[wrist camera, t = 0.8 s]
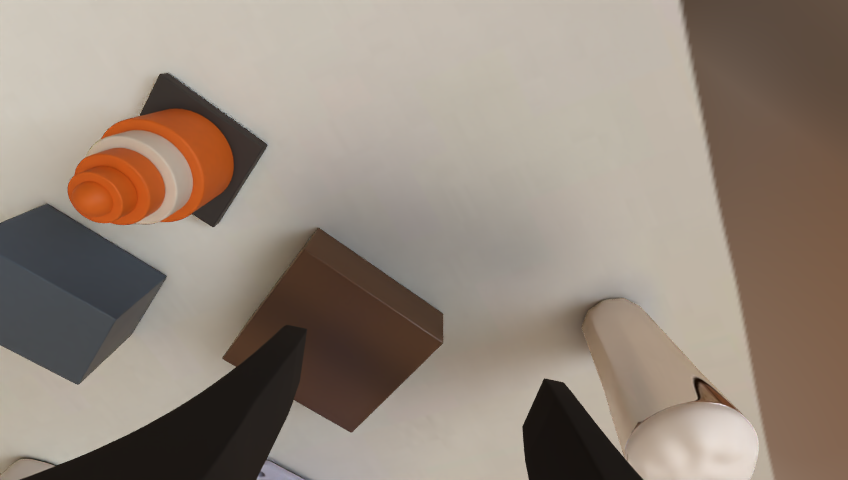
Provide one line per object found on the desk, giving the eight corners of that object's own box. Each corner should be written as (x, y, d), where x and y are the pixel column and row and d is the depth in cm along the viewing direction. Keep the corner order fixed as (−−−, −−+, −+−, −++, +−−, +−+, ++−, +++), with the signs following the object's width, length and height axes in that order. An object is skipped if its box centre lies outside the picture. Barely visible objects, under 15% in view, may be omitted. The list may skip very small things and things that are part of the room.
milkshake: (552, 292, 23) (626, 463, 13) (659, 281, 22) (812, 450, 13) (554, 361, 24) (621, 552, 15) (653, 352, 24) (783, 544, 15)
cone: (218, 223, 22) (125, 299, 15) (123, 161, 20) (-20, 215, 14) (268, 144, 20) (186, 193, 13) (167, 72, 19) (26, 88, 12)
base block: (359, 399, 26) (351, 433, 24) (242, 329, 24) (221, 358, 22) (443, 313, 23) (443, 342, 21) (318, 226, 21) (304, 249, 19)
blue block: (131, 335, 25) (77, 385, 21) (17, 271, 23) (-62, 314, 20) (167, 276, 23) (116, 320, 19) (46, 203, 21) (-34, 235, 18)
